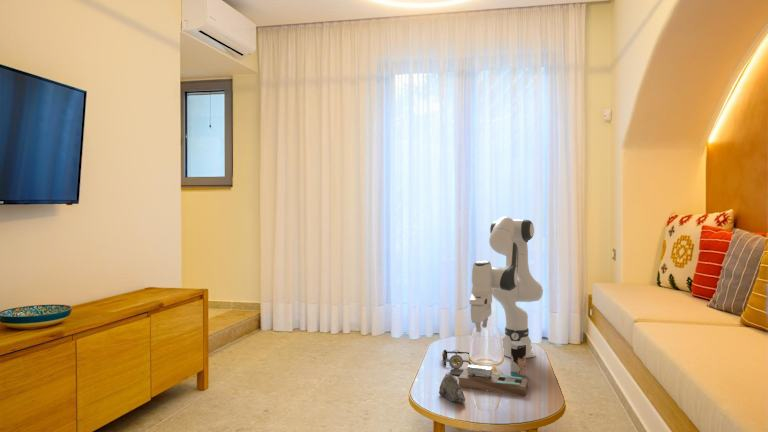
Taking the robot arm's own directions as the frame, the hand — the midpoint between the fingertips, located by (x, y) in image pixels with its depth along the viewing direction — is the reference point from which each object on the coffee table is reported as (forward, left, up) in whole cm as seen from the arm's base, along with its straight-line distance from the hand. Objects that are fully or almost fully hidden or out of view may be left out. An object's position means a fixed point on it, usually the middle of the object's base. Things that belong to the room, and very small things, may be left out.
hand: (481, 329), depth 217 cm
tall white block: (+1, -1, -24) cm, 24 cm away
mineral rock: (+21, -8, -25) cm, 33 cm away
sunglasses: (-25, -17, -25) cm, 39 cm away
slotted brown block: (+1, +5, -24) cm, 25 cm away
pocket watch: (-11, -14, -25) cm, 30 cm away
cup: (-18, +13, -25) cm, 33 cm away
